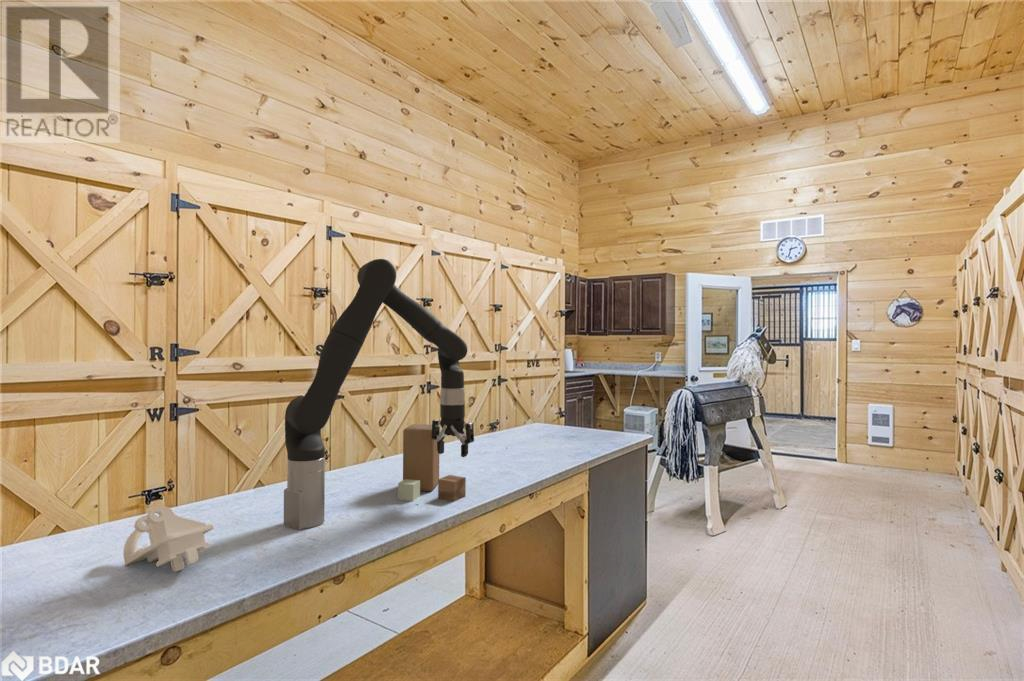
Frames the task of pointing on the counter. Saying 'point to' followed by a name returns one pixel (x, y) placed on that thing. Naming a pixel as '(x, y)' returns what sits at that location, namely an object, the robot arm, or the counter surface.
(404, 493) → the sage cube
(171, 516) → the beige angular piece
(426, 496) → the counter surface
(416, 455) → the wooden block
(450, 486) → the walnut cube
